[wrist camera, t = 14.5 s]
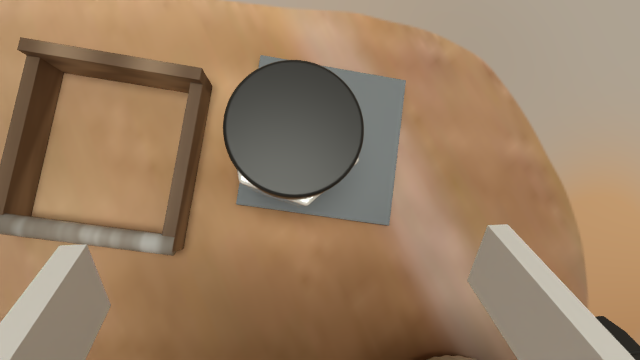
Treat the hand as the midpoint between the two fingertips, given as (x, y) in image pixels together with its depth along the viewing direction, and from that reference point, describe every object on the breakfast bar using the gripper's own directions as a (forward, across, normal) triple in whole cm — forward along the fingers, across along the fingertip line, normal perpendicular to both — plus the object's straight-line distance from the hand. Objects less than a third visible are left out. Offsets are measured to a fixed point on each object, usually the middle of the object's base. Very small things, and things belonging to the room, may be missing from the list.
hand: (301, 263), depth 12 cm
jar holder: (+21, -15, -6) cm, 26 cm away
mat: (+21, +4, -5) cm, 22 cm away
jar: (+20, +1, -6) cm, 20 cm away
